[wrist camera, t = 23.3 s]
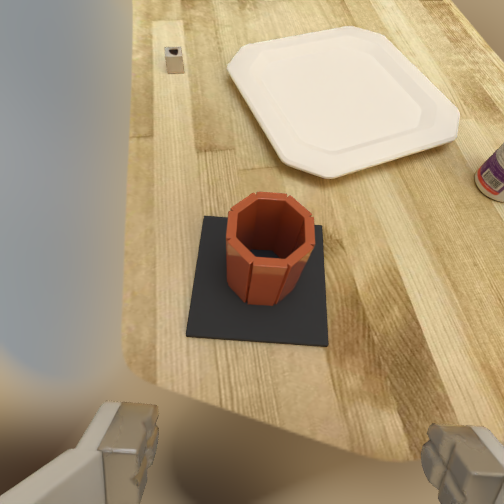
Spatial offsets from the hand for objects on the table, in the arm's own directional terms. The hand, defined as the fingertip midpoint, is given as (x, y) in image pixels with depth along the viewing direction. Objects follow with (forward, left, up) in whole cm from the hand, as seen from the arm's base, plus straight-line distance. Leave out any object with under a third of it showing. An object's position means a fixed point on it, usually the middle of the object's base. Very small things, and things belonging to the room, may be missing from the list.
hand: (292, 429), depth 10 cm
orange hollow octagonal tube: (+12, 0, -16) cm, 20 cm away
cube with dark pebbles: (+42, +13, -17) cm, 47 cm away
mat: (+12, 0, -17) cm, 21 cm away
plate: (+38, -9, -17) cm, 43 cm away
